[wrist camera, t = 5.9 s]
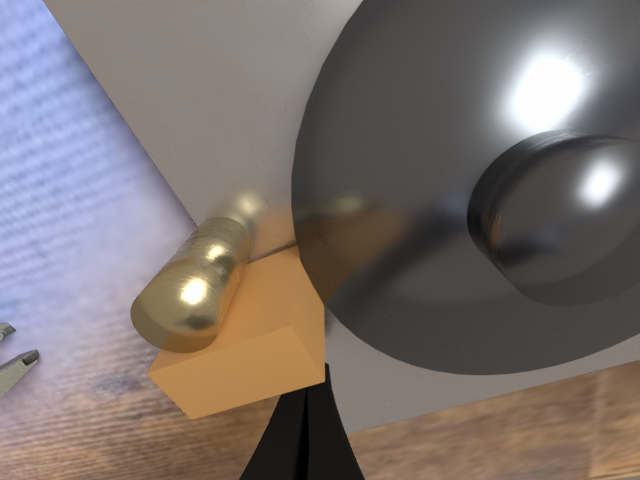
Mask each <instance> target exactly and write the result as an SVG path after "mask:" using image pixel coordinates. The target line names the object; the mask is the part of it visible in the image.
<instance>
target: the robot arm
mask: <svg viewBox="0 0 640 480" xmlns="http://www.w3.org/2000/svg"><path fill="white" fill-rule="evenodd" d="M239 480H365V479H364V477H363V474H362V472H361V470H360V468H359V465H358V463H357V461H356V458H355V456H354V453H353V451H352V448H351V446H350V443H349V440H348V438H347V435H346V433H345V430H344V427H343V424H342V421H341V418H340V415H339V412H338V409H337V405H336V402H335V398H334V394H333V390H332V384H331V377H330V369H329V364H327V363H326V362H325V382H322V383H319V384H315V385H312V386H308V387H305V388H301V389H298V390H294V391H291V392H287V393H284V394H281V396H280V398H279V401H278V403H277V405H276V408H275V410H274V412H273V415H272V417H271V419H270V421H269V424H268V426H267V428H266V430H265V432H264V434H263V436H262V438H261V440H260V442H259V444H258V446H257V448H256V450H255V452H254V454H253V456H252V457H251V459H250V461H249V463H248V465H247V467H246V468H245V470H244V472H243V474H242V475H241V477H240V479H239Z"/></svg>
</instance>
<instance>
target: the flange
mask: <svg viewBox="0 0 640 480" xmlns="http://www.w3.org/2000/svg"><path fill="white" fill-rule="evenodd" d="M291 210H292V217H293V225H294V233H295V238H296V242H297V245H296V246H294V247H291V248H288V249H286V250H283V251H281V252H278V253H275V254H273V255H270V256H268V257H265V258H262V259H260V260H257V261H255V262H252V263H249V264H247V265H246V268H245V270H244V272H243V275H242V277H241V279H240V282H239V284H238V287H237V289H236V291H235V294H234V296H233V298H232V301H231V303H230V306H229V308H228V310H227V313H226V315H225V317H224V320H223V322H222V325H221V327H220V329H219V332H218V334H217V336H216V338H215V340H214V341H213V343H212V344H211V345H209V346H208V347H207V348H205V349H203V350H200V351H197V352H193V353H175V352H170V351H166V350H163V349H161V350H160V352H159V353H158V355H157V357H156V358H155V360H154V362H153V363H152V365H151V367H150V368H149V370H148V372H147V373H146V374H147V375H148V376H149V377H150V378H151V379H152V380H153V381H154V382H155V383H156V384H157V385H158V386H159V387H160V388H161V389H162V390H163V391H164V392H165V393H166V394H167V395H168V396H169V397H170V398H171V399H172V400H173V401H174V402H175V403H176V404H177V405H178V406H179V407H180V408H181V409H182V410H183V411H184V412H185V413H186V414H187V415H188V416H189V417H190V418H191V419H192V420H193V419H197V418H200V417H203V416H207V415H210V414H214V413H217V412H221V411H224V410H228V409H231V408H235V407H238V406H242V405H245V404H249V403H252V402H256V401H259V400H263V399H266V398H270V397H273V396H277V395H280V394H284V393H287V392H291V391H294V390H298V389H301V388H305V387H308V386H312V385H315V384H319V383H322V382H325V325H324V304H325V305H326V306H327V308H328V309H329V310H330V311H331V312H332V313H333V315H334V316H335V317H336V318H337V319H338V320H339V322H340V323H342V324H343V325H344V326H345V327H346V328H347V329H348V330H350V331H351V332H352V333H353V334H354V335H355V336H356V337H358V338H359V339H361V340H362V341H364V342H365V343H367V344H368V345H370V346H371V347H373V348H374V349H376V350H378V351H380V352H382V353H384V354H386V355H388V356H390V357H392V358H394V359H397V360H399V361H402V362H405V363H408V364H410V365H413V366H416V367H420V368H425V369H429V370H433V371H437V372H445V373H452V374H459V375H502V374H513V373H520V372H528V371H534V370H539V369H543V368H548V367H552V366H557V365H560V364H564V363H567V362H570V361H574V360H577V359H580V358H584V357H586V356H589V355H592V354H594V353H597V352H599V351H602V350H605V349H607V348H610V347H612V346H614V345H616V344H618V343H621V342H623V341H625V340H627V339H629V338H631V337H633V336H636V335H638V334H639V333H640V0H363V1H362V2H361V4H360V5H359V6H358V8H357V9H356V10H355V12H354V13H353V15H352V16H351V17H350V19H349V20H348V21H347V23H346V24H345V26H344V28H343V30H342V31H341V33H340V35H339V37H338V38H337V40H336V42H335V44H334V45H333V47H332V49H331V51H330V53H329V54H328V56H327V58H326V60H325V61H324V63H323V65H322V68H321V70H320V72H319V75H318V77H317V80H316V82H315V84H314V87H313V89H312V92H311V94H310V96H309V99H308V101H307V104H306V107H305V111H304V115H303V118H302V122H301V125H300V129H299V133H298V136H297V140H296V146H295V153H294V160H293V167H292V174H291Z"/></svg>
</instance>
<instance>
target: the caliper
mask: <svg viewBox="0 0 640 480" xmlns="http://www.w3.org/2000/svg"><path fill="white" fill-rule="evenodd" d="M14 331H16V330H15V329H14V328H13V327H12V326H11V325H10V324H9V323H3V324H0V340H1V339H2V337H3V336H5V335H8V334H10V333H12V332H14ZM37 360H38V353H37V350H33V351H29V352H26V353H23V354H20V355H18V356H17V357H15V358H13V359H12V360H10V361H8V362H7V363H5V364H3V365H1V366H0V398H1V397H2V396H3V395H4V394H5V393H6V392H7V391H8V390H9V389H10V388H11V387H12V386H13V385H14V384H15V383H16V382H17V381H18V380H19V379H20V378H21V377H23V376H24V375H25V374H26V373H27V372H28V371H29V369H30V368H31V367H32V366H33V365H34V364H35V363H36V362H37Z"/></svg>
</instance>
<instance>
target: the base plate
mask: <svg viewBox="0 0 640 480" xmlns="http://www.w3.org/2000/svg"><path fill="white" fill-rule="evenodd" d="M362 1H363V0H43V2H44V3H45V5H46V6H47V8H48V9H49V11H50V12H51V14H52V15H53V16H54V18H55V19H56V21H57V22H58V24H59V25H60V27H61V28H62V30H63V31H64V33H65V34H66V35H67V37H68V38H69V40H70V41H71V43H72V44H73V46H74V47H75V49H76V50H77V51H78V53H79V54H80V56H81V57H82V59H83V60H84V62H85V63H86V65H87V66H88V67H89V69H90V70H91V72H92V73H93V75H94V76H95V78H96V79H97V81H98V82H99V84H100V85H101V86H102V88H103V89H104V91H105V92H106V94H107V95H108V97H109V98H110V100H111V101H112V102H113V104H114V105H115V107H116V108H117V110H118V111H119V113H120V114H121V116H122V117H123V119H124V120H125V121H126V123H127V124H128V126H129V127H130V129H131V130H132V132H133V133H134V135H135V136H136V137H137V139H138V140H139V142H140V143H141V145H142V146H143V148H144V149H145V151H146V152H147V153H148V155H149V156H150V158H151V159H152V161H153V162H154V164H155V165H156V167H157V168H158V170H159V171H160V172H161V174H162V175H163V177H164V178H165V180H166V181H167V183H168V184H169V186H170V187H171V188H172V190H173V191H174V193H175V194H176V196H177V197H178V199H179V200H180V202H181V203H182V204H183V206H184V207H185V209H186V210H187V212H188V213H189V215H190V216H191V218H192V219H193V221H194V222H195V223H196V225H197V226H198V228H197V229H196V230H195V231H194V233H193V234H192V235H191V236H190V237H189V238H188V239H187V241H186V242H185V243H184V244H183V245H182V246H181V247H180V249H179V250H178V251H177V252H176V253H175V254H174V255H173V257H172V258H171V259H170V260H169V261H168V262H167V263H166V265H165V266H164V267H163V268H162V269H161V270H160V271H159V273H158V274H157V275H156V276H155V277H154V278H153V279H152V281H151V282H150V283H149V284H148V285H147V286H146V287H145V289H144V290H143V291H142V292H141V293H140V294H139V295H138V297H137V298H136V299H135V300H134V302H133V304H132V307H131V319H132V323H133V325H134V327H135V328H136V330H137V331H138V333H139V334H140V335H141V336H142V337H143V338H144V339H145V340H147V341H148V342H149V343H151V344H153V345H154V346H156V347H158V348H161V349H163V350H166V351H170V352H175V353H193V352H197V351H200V350H203V349H205V348H207V347H208V346H209V345H211V344H212V343H213V341H214V340H215V338H216V336H217V334H218V332H219V329H220V327H221V325H222V322H223V320H224V317H225V315H226V313H227V310H228V308H229V306H230V303H231V301H232V298H233V296H234V294H235V291H236V289H237V287H238V284H239V282H240V279H241V277H242V275H243V272H244V270H245V268H246V265H247V264H249V263H252V262H255V261H257V260H260V259H262V258H265V257H268V256H270V255H273V254H275V253H278V252H281V251H283V250H286V249H288V248H291V247H294V246H296V245H297V242H296V238H295V233H294V225H293V217H292V210H291V174H292V167H293V160H294V153H295V146H296V140H297V136H298V133H299V129H300V125H301V122H302V118H303V115H304V111H305V107H306V104H307V101H308V99H309V96H310V94H311V92H312V89H313V87H314V84H315V82H316V80H317V77H318V75H319V72H320V70H321V68H322V65H323V63H324V61H325V60H326V58H327V56H328V54H329V53H330V51H331V49H332V47H333V45H334V44H335V42H336V40H337V38H338V37H339V35H340V33H341V31H342V30H343V28H344V26H345V24H346V23H347V21H348V20H349V19H350V17H351V16H352V15H353V13H354V12H355V10H356V9H357V8H358V6H359V5H360V4H361V2H362ZM324 325H325V362H326V363H327V364H329V369H330V377H331V384H332V390H333V394H334V398H335V402H336V405H337V409H338V412H339V415H340V418H341V421H342V424H343V427H344V430H345V433H346V435H347V434H351V433H355V432H359V431H363V430H367V429H371V428H375V427H379V426H383V425H386V424H390V423H394V422H398V421H402V420H406V419H410V418H414V417H418V416H422V415H426V414H429V413H433V412H437V411H441V410H445V409H449V408H453V407H457V406H461V405H465V404H469V403H472V402H476V401H480V400H484V399H488V398H492V397H496V396H500V395H504V394H508V393H512V392H516V391H519V390H523V389H527V388H531V387H535V386H539V385H543V384H547V383H551V382H555V381H559V380H562V379H566V378H570V377H574V376H578V375H582V374H586V373H590V372H594V371H598V370H602V369H605V368H609V367H613V366H617V365H621V364H625V363H629V362H633V361H637V360H640V333H639V334H638V335H636V336H633V337H631V338H629V339H627V340H625V341H623V342H621V343H618V344H616V345H614V346H612V347H610V348H607V349H605V350H602V351H599V352H597V353H594V354H592V355H589V356H586V357H584V358H580V359H577V360H574V361H570V362H567V363H564V364H560V365H557V366H552V367H548V368H543V369H539V370H534V371H528V372H520V373H513V374H502V375H459V374H452V373H445V372H437V371H433V370H429V369H425V368H420V367H416V366H413V365H410V364H408V363H405V362H402V361H399V360H397V359H394V358H392V357H390V356H388V355H386V354H384V353H382V352H380V351H378V350H376V349H374V348H373V347H371V346H370V345H368V344H367V343H365V342H364V341H362V340H361V339H359V338H358V337H356V336H355V335H354V334H353V333H352V332H351V331H350V330H348V329H347V328H346V327H345V326H344V325H343V324H342V323H340V322H339V320H338V319H337V318H336V317H335V316H334V315H333V313H332V312H331V311H330V310H329V309H328V308H327V306H326V305H325V304H324Z"/></svg>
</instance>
